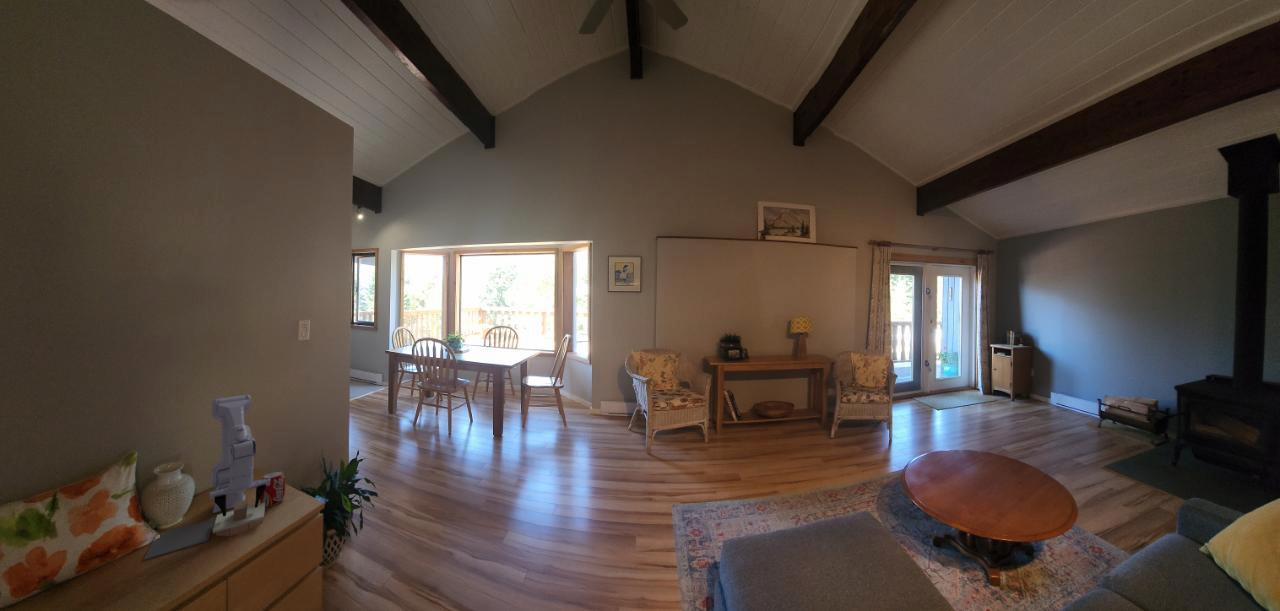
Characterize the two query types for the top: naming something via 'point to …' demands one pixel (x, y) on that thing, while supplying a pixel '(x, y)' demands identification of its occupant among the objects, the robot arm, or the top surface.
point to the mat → (180, 539)
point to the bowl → (238, 528)
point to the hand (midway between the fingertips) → (240, 510)
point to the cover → (239, 516)
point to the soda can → (274, 489)
